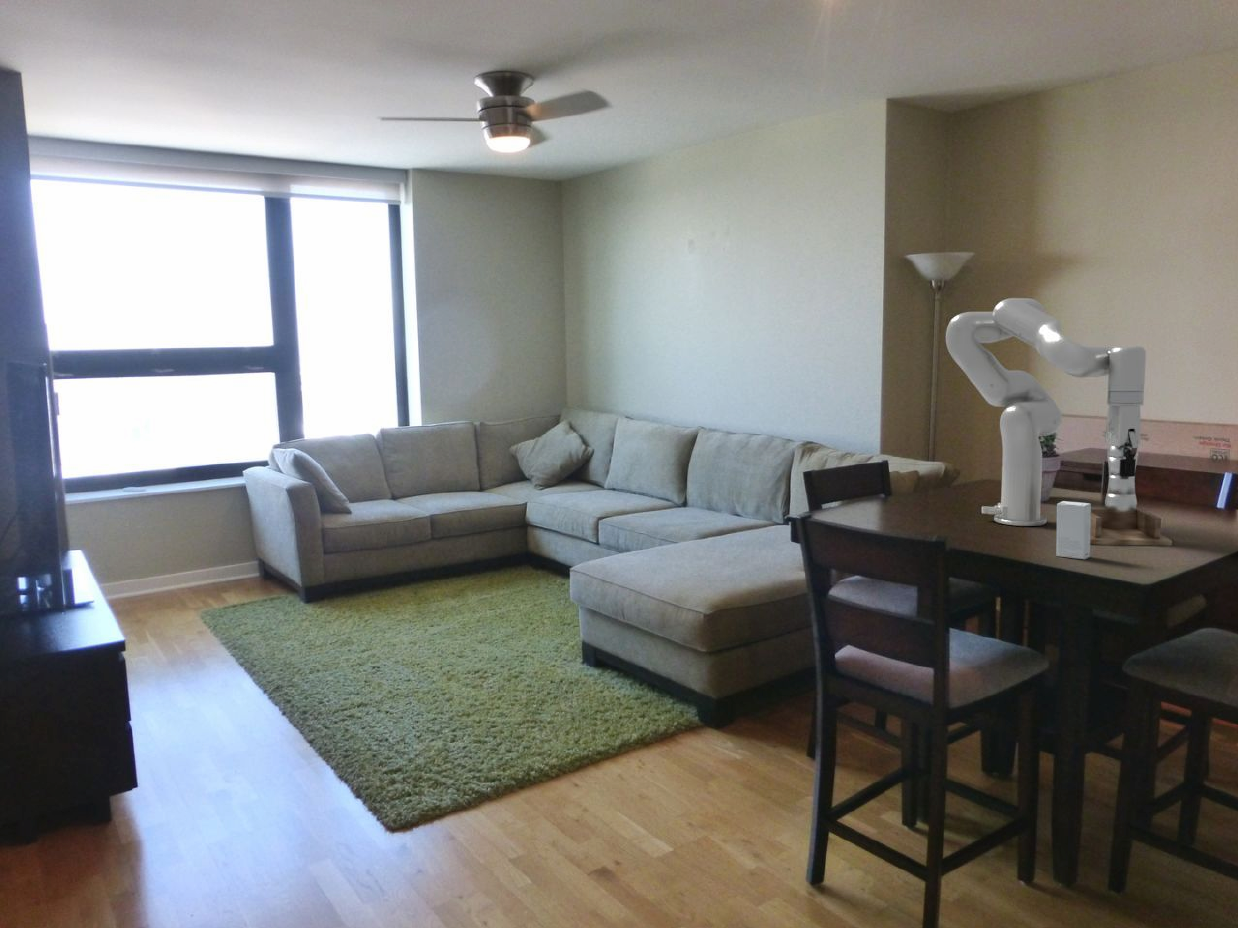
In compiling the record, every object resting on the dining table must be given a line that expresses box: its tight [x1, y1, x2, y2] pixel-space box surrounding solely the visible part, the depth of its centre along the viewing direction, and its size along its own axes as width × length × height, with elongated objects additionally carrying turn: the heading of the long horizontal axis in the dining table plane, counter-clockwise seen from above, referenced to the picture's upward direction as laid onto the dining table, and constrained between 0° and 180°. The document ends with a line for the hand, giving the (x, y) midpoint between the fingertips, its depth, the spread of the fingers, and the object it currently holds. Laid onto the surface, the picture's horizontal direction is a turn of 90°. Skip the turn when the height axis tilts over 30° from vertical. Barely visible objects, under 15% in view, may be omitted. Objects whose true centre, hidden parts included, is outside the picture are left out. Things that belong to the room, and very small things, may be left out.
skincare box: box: [1055, 500, 1092, 560], centre depth 203 cm, size 6×4×12 cm
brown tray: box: [1090, 507, 1173, 547], centre depth 221 cm, size 18×16×6 cm
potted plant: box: [1038, 433, 1073, 502], centre depth 273 cm, size 18×20×25 cm
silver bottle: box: [1104, 444, 1139, 514], centre depth 219 cm, size 6×7×20 cm
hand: (1121, 473), depth 219 cm, fingers closed on silver bottle, 6 cm apart
